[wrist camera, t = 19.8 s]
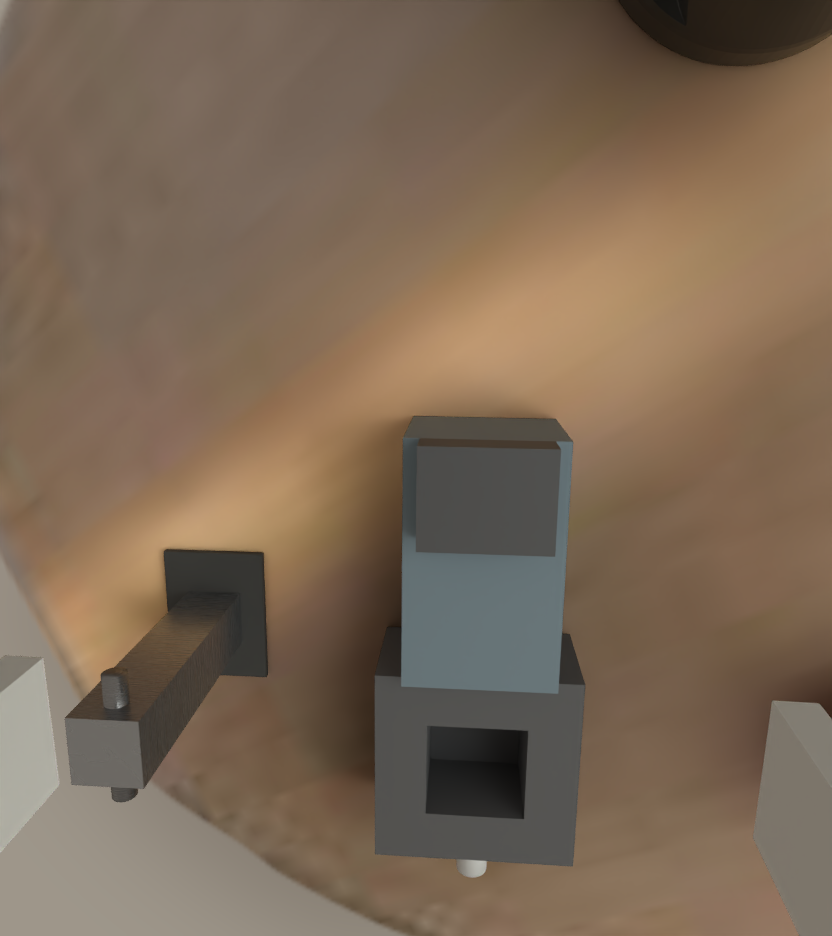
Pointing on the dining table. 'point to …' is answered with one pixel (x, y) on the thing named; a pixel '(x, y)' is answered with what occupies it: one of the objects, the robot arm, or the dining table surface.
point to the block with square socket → (480, 651)
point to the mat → (226, 577)
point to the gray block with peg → (152, 694)
